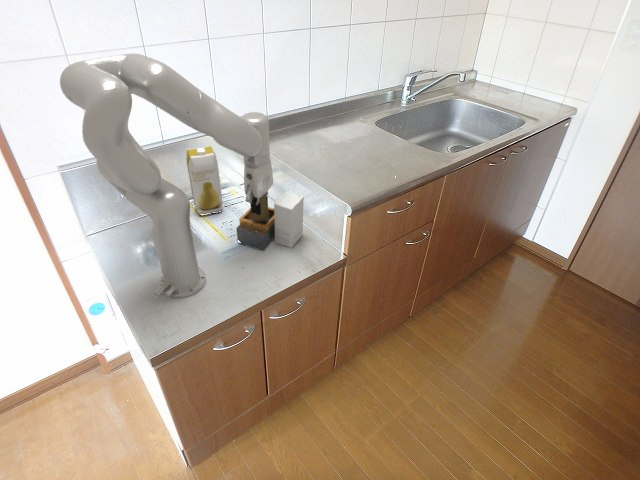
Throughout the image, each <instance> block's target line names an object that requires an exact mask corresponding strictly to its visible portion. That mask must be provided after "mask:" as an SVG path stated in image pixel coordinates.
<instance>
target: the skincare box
mask: <svg viewBox="0 0 640 480" xmlns="http://www.w3.org/2000/svg"><path fill="white" fill-rule="evenodd" d="M304 199H305V197H304V195H301V194H297V193H294V192H292V191H285V192H284V193H283V194H282V195H281V196H280V197H279V198H278V199H276V201H275V202H274V203H273V205H274V207H273V209H274V215H275V238H274V242H275V243H276V244H279V245H282V246H284V247H287V248H289V249H292V248H293V247H294V246H295V245H296V243H297V242H298V241H299V240H300V239H301V238H302V237H303V234H304V233H303V230H304Z"/></svg>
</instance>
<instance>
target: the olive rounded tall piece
mask: <svg viewBox="0 0 640 480" xmlns="http://www.w3.org/2000/svg"><path fill="white" fill-rule="evenodd" d="M266 194H267V192H266V193H265V194H264V195H263V196H262V197H260V198H259V203H260V206H261V214H260V215H257V214H256V213H254V214H253V213H251V218H252V219H253V220H256V221H263V220H266V219H267V218H269V210H268V207H269V204H268V205H267V200H266ZM253 199H255V200H256V197H253Z"/></svg>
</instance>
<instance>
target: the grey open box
mask: <svg viewBox="0 0 640 480" xmlns="http://www.w3.org/2000/svg"><path fill="white" fill-rule="evenodd" d="M268 210H269V218H267V219H266V220H263V221H256V220H253V219H252V218H251V207H250V208H249V209H248V210H247V211H246V212H245V213H244V214H243V215H242V216H241V217H240V218H239V220H238V221H239V224H238V226H237V227H236V237H237V241H238V240H239V241H240V242H241V244H240V245H243V246H244V245H245V246H247V247H250V248H254V249H257V250H260V251H263V252H264V251H266V249H267V248H268V247H269V246H270V245H271V243H272V242H274V241H275V215H274V207H269V206H268Z"/></svg>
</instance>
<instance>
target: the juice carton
mask: <svg viewBox="0 0 640 480" xmlns="http://www.w3.org/2000/svg"><path fill="white" fill-rule="evenodd" d="M186 167H187V171H188V178H189V183H190V188H191V195H192V199H193V203H194V206H195V209H196V211H197V213H198V214H207V213H213V212H219V211H223V196H222V194H223V193H222V188H221V187H222V185H221V181H220V179H221V178H220V170H219V163H218V159H217V155H216V153H215V152H214V150H213V148H212V146H211V145H208V146H205V147H199V148H187V150H186Z"/></svg>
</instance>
